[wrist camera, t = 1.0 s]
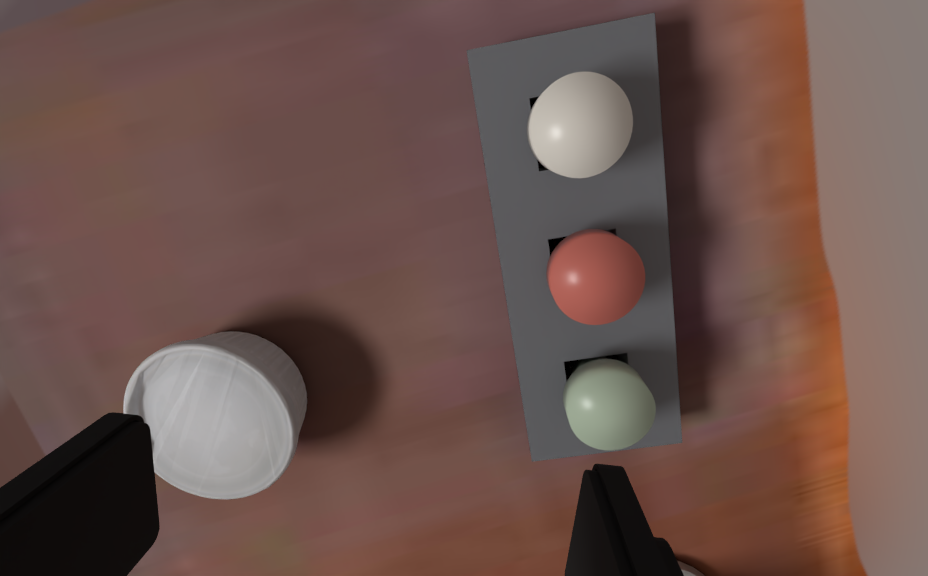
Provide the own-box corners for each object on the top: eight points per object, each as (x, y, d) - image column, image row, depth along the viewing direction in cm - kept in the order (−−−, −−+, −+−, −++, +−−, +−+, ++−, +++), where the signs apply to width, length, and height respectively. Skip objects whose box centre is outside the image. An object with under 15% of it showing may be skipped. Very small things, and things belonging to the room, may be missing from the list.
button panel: (666, 418, 35) (682, 442, 32) (528, 436, 36) (532, 461, 33) (637, 26, 29) (654, 12, 26) (468, 60, 29) (466, 50, 27)
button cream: (612, 165, 29) (636, 169, 25) (529, 180, 30) (537, 186, 25) (604, 76, 28) (628, 62, 23) (517, 93, 28) (523, 82, 24)
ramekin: (158, 317, 35) (102, 345, 30) (312, 315, 34) (282, 344, 29) (186, 453, 38) (140, 500, 33) (328, 454, 38) (303, 501, 32)
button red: (624, 292, 31) (648, 317, 27) (546, 304, 32) (556, 331, 27) (617, 215, 30) (641, 227, 25) (535, 228, 31) (545, 243, 26)
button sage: (634, 403, 34) (658, 444, 29) (561, 412, 34) (573, 455, 29) (627, 335, 32) (652, 367, 27) (552, 346, 33) (563, 379, 28)
